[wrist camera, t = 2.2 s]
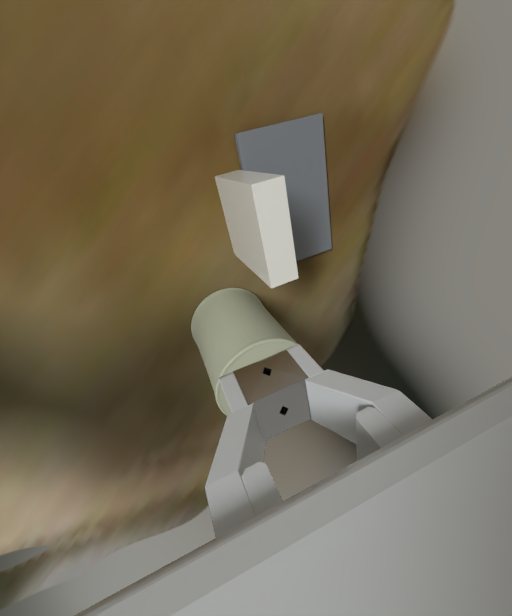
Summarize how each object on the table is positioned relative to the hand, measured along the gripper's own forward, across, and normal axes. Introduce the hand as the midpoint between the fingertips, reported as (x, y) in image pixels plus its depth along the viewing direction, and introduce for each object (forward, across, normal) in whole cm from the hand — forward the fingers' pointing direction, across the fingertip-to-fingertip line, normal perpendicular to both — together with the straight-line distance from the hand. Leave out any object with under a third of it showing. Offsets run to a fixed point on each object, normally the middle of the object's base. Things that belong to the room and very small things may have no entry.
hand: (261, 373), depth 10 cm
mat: (+22, -12, 0) cm, 26 cm away
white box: (+23, -6, 0) cm, 23 cm away
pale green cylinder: (+23, -2, +12) cm, 26 cm away
